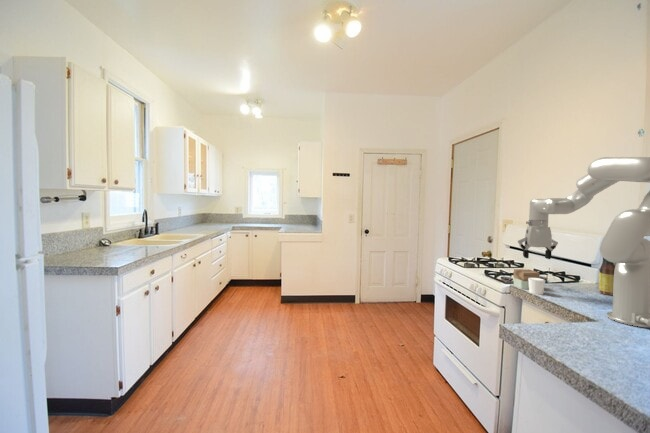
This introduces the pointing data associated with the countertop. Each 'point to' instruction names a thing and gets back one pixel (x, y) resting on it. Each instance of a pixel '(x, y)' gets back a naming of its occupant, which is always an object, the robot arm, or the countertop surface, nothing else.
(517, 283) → the lower block
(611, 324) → the countertop surface
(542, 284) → the shot glass
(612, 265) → the sauce bottle
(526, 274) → the upper block
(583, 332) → the countertop surface
